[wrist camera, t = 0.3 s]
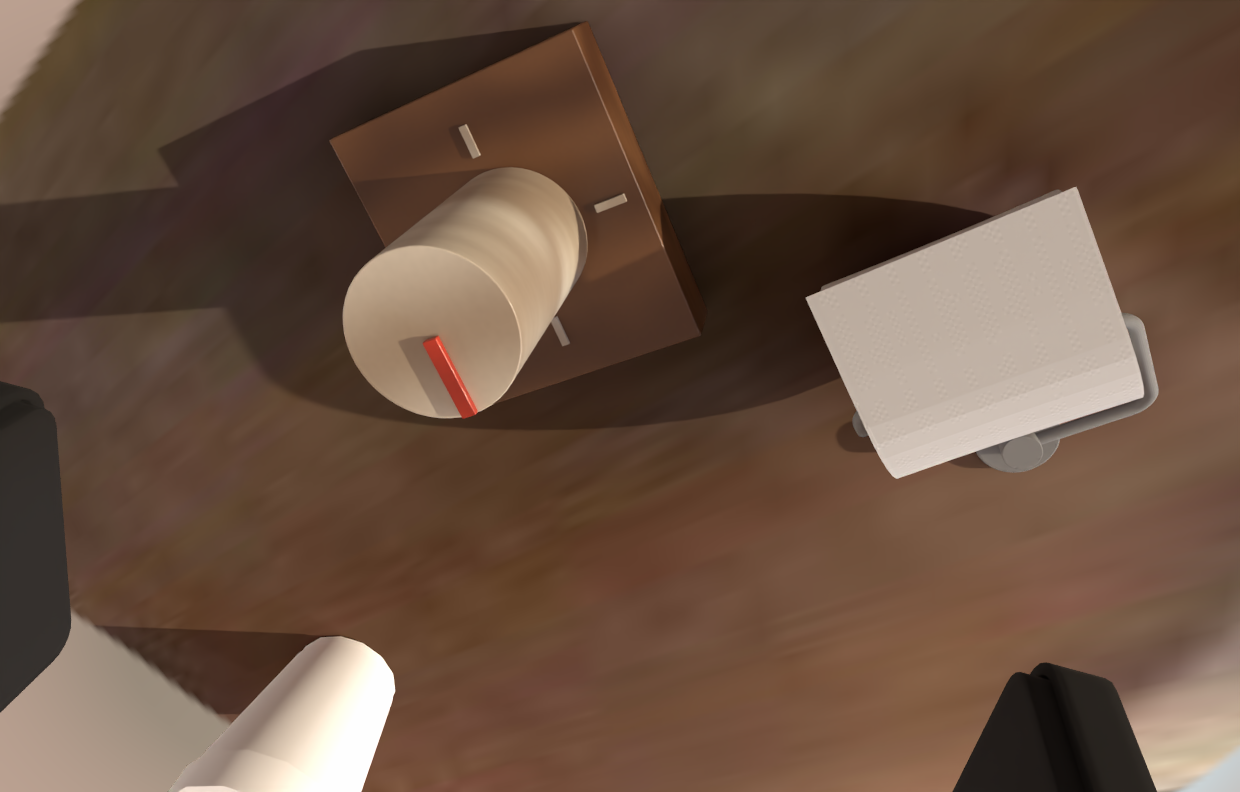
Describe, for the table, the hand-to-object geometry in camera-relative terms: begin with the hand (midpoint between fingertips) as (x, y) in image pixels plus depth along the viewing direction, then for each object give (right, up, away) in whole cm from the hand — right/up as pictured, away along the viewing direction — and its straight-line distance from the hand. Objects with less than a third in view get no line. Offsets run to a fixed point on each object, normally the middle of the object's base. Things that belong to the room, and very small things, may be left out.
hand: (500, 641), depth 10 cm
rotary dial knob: (-3, +9, +34) cm, 35 cm away
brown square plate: (-3, +11, +37) cm, 38 cm away
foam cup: (-16, -15, +52) cm, 57 cm away
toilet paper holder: (+17, +5, +36) cm, 40 cm away
